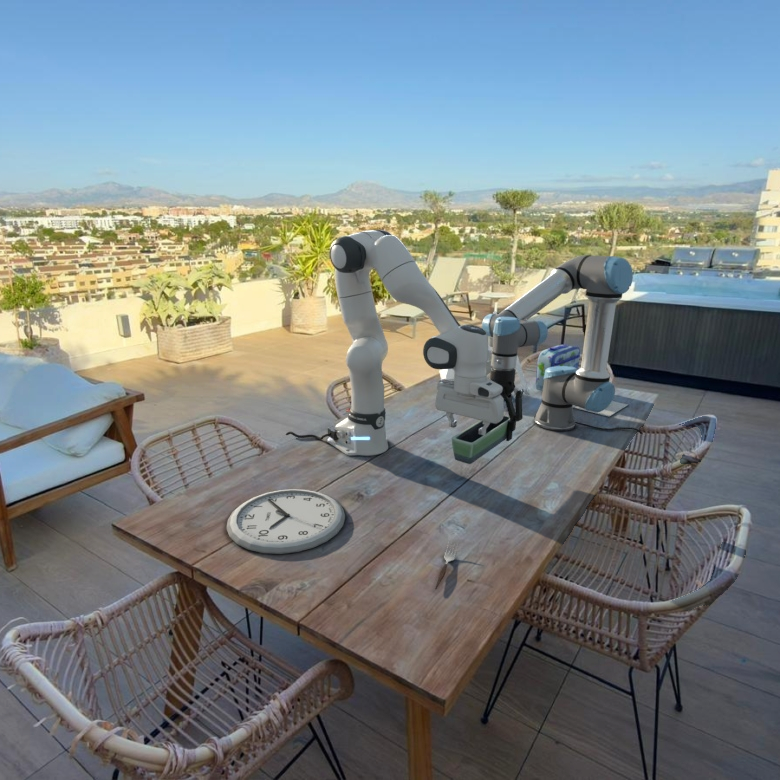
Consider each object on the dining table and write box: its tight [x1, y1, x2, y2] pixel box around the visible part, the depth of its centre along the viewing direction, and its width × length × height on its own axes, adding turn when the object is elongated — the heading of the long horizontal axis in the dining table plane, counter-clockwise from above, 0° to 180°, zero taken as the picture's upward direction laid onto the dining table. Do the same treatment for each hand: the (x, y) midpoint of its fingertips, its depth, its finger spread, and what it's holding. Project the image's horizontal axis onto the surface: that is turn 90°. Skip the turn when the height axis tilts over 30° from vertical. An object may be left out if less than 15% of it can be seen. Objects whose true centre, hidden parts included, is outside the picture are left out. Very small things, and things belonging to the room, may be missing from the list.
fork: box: [434, 542, 459, 590], centre depth 116 cm, size 3×16×2 cm, turn 160°
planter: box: [451, 414, 510, 465], centre depth 159 cm, size 28×7×7 cm, turn 143°
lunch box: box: [535, 344, 581, 392], centre depth 247 cm, size 26×11×21 cm, turn 134°
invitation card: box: [573, 400, 629, 418], centre depth 226 cm, size 21×1×15 cm
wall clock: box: [226, 488, 346, 555], centre depth 135 cm, size 30×2×30 cm
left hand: (467, 430), depth 149 cm, fingers open, 8 cm apart
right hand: (497, 436), depth 168 cm, fingers closed on planter, 7 cm apart
